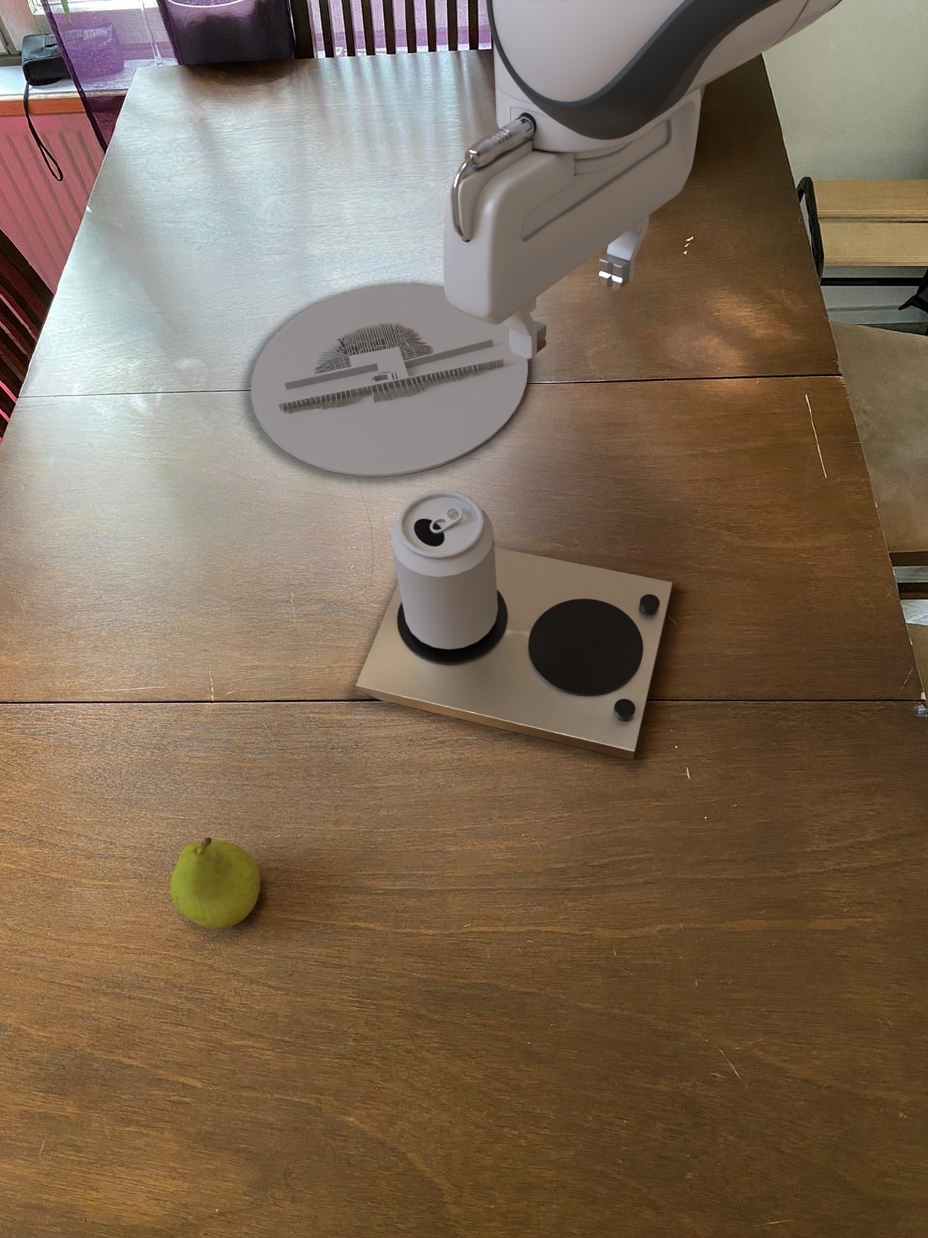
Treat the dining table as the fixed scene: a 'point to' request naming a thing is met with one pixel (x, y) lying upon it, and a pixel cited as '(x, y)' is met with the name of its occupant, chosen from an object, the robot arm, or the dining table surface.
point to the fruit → (215, 883)
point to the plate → (386, 382)
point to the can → (446, 568)
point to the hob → (537, 656)
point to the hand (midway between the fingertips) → (573, 315)
